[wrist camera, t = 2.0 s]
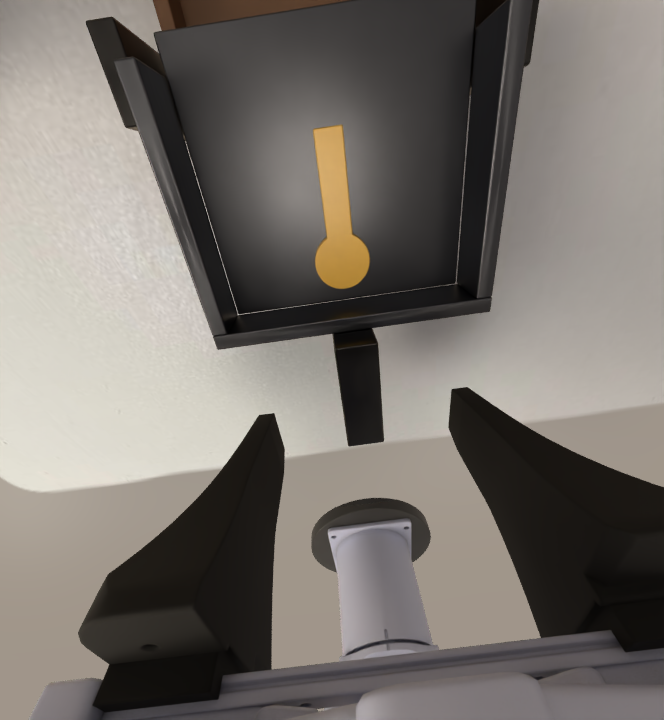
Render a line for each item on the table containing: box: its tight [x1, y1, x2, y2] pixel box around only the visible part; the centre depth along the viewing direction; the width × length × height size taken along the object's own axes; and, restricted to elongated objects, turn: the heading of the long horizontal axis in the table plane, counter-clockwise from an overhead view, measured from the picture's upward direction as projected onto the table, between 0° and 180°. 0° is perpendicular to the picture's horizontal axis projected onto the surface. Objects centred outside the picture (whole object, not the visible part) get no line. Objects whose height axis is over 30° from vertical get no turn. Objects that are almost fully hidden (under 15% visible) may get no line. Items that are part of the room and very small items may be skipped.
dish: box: [113, 0, 533, 446], centre depth 12 cm, size 15×11×4 cm
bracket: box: [86, 0, 539, 140], centre depth 11 cm, size 2×13×4 cm, turn 97°
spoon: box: [313, 125, 370, 289], centre depth 12 cm, size 6×2×1 cm, turn 7°
